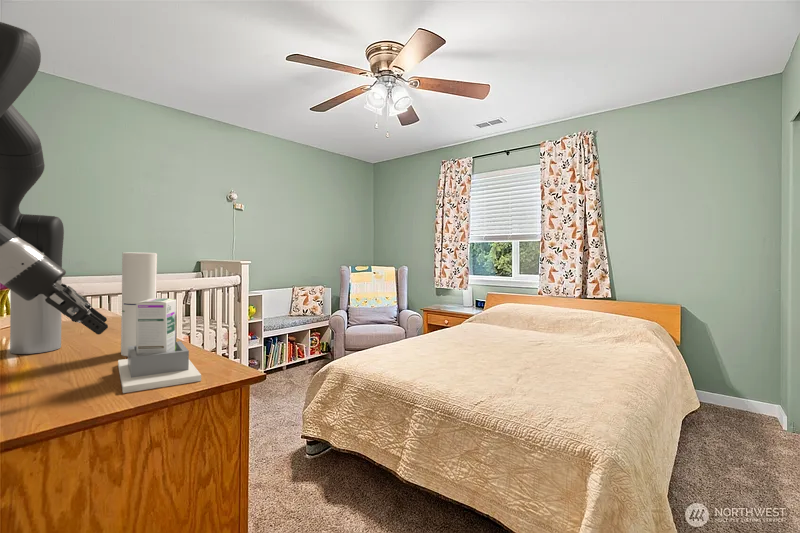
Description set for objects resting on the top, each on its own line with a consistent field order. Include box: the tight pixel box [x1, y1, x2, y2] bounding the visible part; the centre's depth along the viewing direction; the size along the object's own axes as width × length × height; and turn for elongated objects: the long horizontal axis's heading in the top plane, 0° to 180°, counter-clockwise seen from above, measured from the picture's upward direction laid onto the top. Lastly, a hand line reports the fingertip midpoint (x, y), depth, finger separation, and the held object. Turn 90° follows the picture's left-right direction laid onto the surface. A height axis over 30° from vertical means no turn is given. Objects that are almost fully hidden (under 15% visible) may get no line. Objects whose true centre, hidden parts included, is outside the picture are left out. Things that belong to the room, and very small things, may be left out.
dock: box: [117, 340, 202, 394], centre depth 83 cm, size 20×13×5 cm, turn 38°
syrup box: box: [136, 297, 177, 356], centre depth 82 cm, size 6×6×14 cm
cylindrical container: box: [120, 251, 158, 357], centre depth 97 cm, size 7×7×25 cm
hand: (103, 326), depth 77 cm, fingers open, 8 cm apart
